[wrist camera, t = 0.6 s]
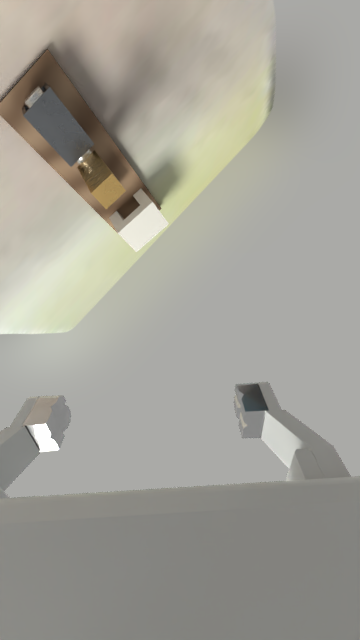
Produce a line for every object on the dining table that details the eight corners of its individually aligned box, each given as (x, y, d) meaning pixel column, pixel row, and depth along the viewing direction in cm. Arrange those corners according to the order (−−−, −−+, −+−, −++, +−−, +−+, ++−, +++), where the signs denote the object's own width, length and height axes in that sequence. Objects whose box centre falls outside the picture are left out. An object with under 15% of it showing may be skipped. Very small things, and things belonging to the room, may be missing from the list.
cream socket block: (108, 217, 54) (117, 233, 49) (140, 188, 52) (152, 201, 48) (127, 236, 58) (136, 252, 54) (156, 209, 57) (168, 223, 53)
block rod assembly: (21, 103, 36) (26, 124, 28) (40, 82, 36) (51, 97, 27) (107, 198, 50) (127, 232, 41) (122, 184, 49) (146, 215, 41)
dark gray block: (21, 109, 37) (23, 115, 34) (46, 82, 36) (49, 86, 33) (66, 158, 44) (71, 167, 41) (88, 136, 43) (94, 143, 40)
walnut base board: (-6, 108, 37) (-6, 109, 36) (47, 49, 35) (47, 49, 34) (124, 238, 59) (125, 240, 59) (159, 206, 58) (161, 208, 57)
